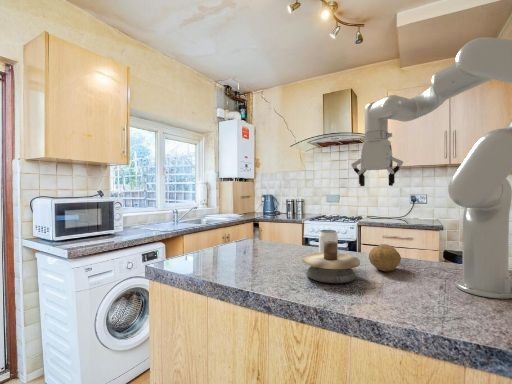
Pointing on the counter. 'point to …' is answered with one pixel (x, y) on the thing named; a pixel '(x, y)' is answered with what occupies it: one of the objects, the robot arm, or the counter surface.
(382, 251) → the potato
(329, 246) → the lid
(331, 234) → the can
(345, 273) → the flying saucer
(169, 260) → the counter surface
